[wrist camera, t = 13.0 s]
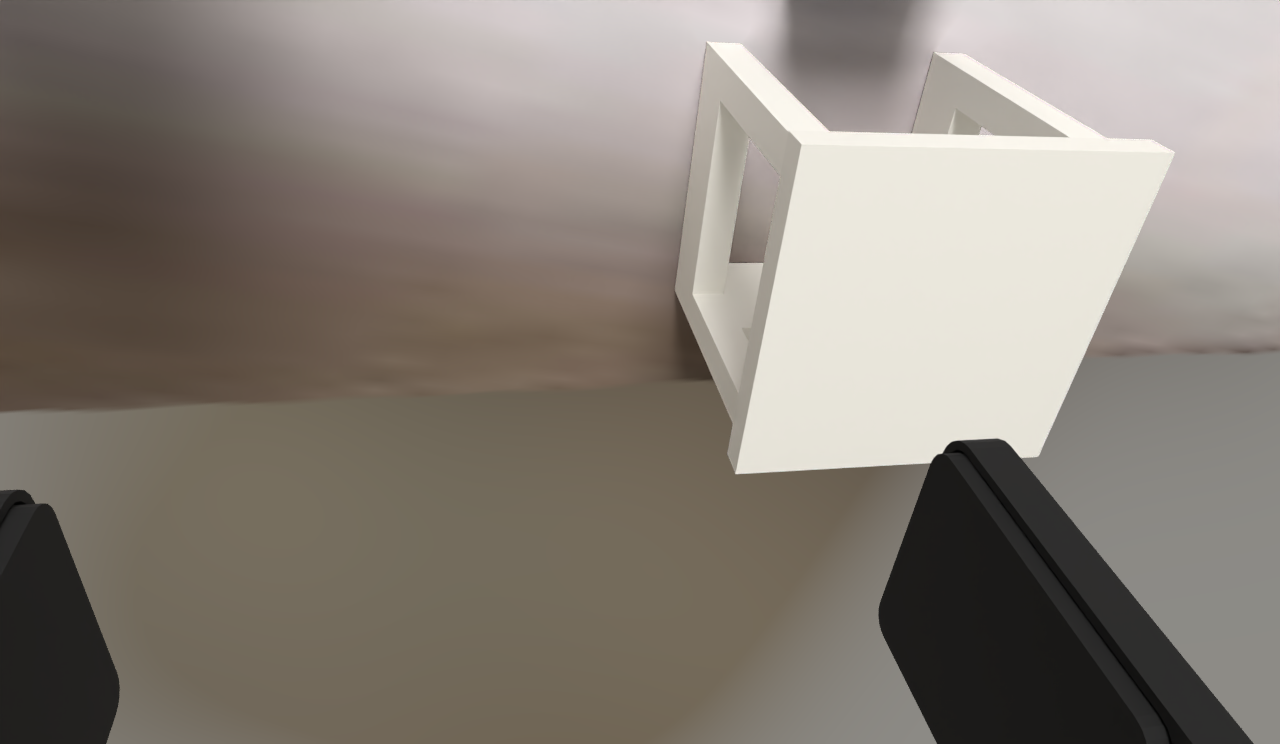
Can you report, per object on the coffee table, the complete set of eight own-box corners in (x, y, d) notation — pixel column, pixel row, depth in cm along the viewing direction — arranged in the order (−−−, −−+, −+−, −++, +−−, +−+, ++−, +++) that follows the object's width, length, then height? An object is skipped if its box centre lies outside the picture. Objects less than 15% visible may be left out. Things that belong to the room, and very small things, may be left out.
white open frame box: (696, 29, 37) (801, 144, 26) (977, 42, 39) (1175, 152, 29) (663, 299, 44) (735, 474, 34) (902, 295, 47) (1038, 456, 36)
